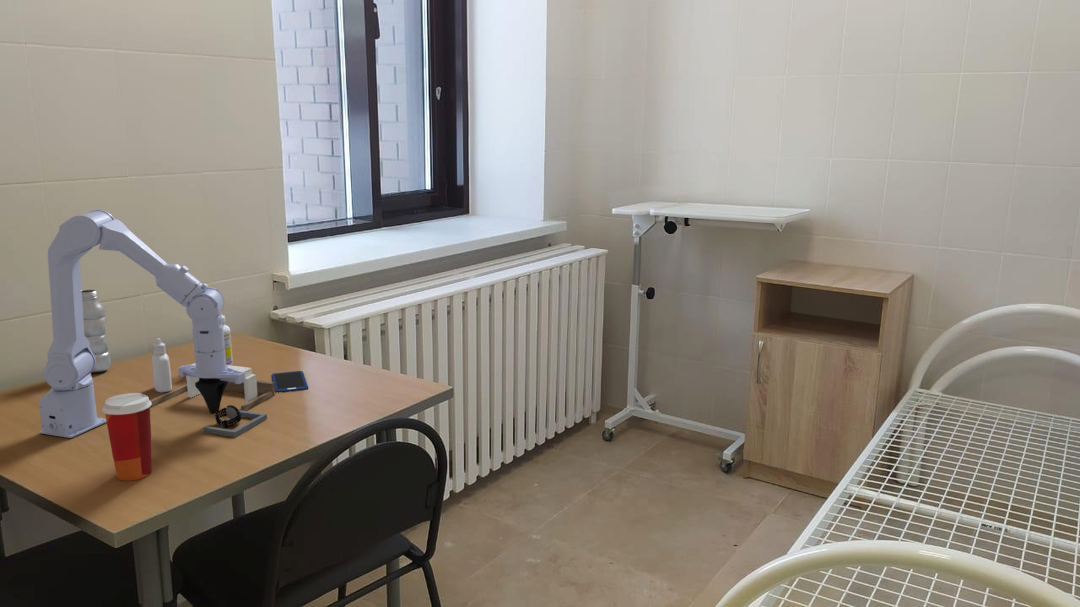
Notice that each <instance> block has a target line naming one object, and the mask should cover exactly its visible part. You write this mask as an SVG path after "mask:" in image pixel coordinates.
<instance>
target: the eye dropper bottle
mask: <svg viewBox="0 0 1080 607" xmlns="http://www.w3.org/2000/svg"><path fill="white" fill-rule="evenodd" d="M153 353H154V354H152V357H151V365H152V366H151V367H152V374H153V383H154V390H155V391H156V392H158V393H166V392H167V393H169V392H171V391H173V390H172V389H173V387H172V375H171V374H172V372H171V363H170V357H169V354H167V352H166V344H165V343H164V342H162V340H161V338H160V337H158V338H156V343H154V344H153Z"/></svg>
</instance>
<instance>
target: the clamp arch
mask: <svg viewBox="0 0 1080 607" xmlns="http://www.w3.org/2000/svg"><path fill="white" fill-rule="evenodd" d="M190 365H195V362H194V363H192V364H190ZM227 367H228V368H231V369H233V370H236V371H239V372H245V382H244V391H245V393H244V401H245V402H244V403H245V404H246V403H248V402H250V401H252V400H254V399H256V398H257V397H259V395H257V381H256V380H257V374H254V373H253V368H252V367H247V366H238V365H232V366H231V365H227ZM185 378H186V385H187V390H188V391H187V397H188V398H190V399H192V397H193V398H195V397H197V396H199V395H201V394H200V391H199V390H198V389H197V388H196V387H195V383H196V382H198V381H199V378H198V377H190V376H185ZM198 394H199V395H198ZM196 395H197V396H196ZM194 396H195V397H194Z"/></svg>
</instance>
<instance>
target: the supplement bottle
mask: <svg viewBox="0 0 1080 607" xmlns="http://www.w3.org/2000/svg"><path fill="white" fill-rule="evenodd" d="M225 323H226V315H223V314H222V325H223V332H224V346H225V359H226V365H231V366H233V363H234V362H233V360H234V359H233V350H232V348H233V346H232V336H231V328H230V327H229V326H228V325H226V324H225Z"/></svg>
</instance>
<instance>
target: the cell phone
mask: <svg viewBox="0 0 1080 607" xmlns="http://www.w3.org/2000/svg"><path fill="white" fill-rule="evenodd" d="M271 378H272V379H271V380H272V382H274V392H275V393H276V392H278V393H277V394H280V393H279V392H282V393H290V392H289V391H291V392H298V391H300V390H301V391H307V390H309V386H308V381H307V380H306V377H305V374H304V372H303V371H302V370H297V371H296V370H295V371H294V370H293V371H286V372H285V371H284V372H275V373H272V374H271ZM301 391H300V392H301Z"/></svg>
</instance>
